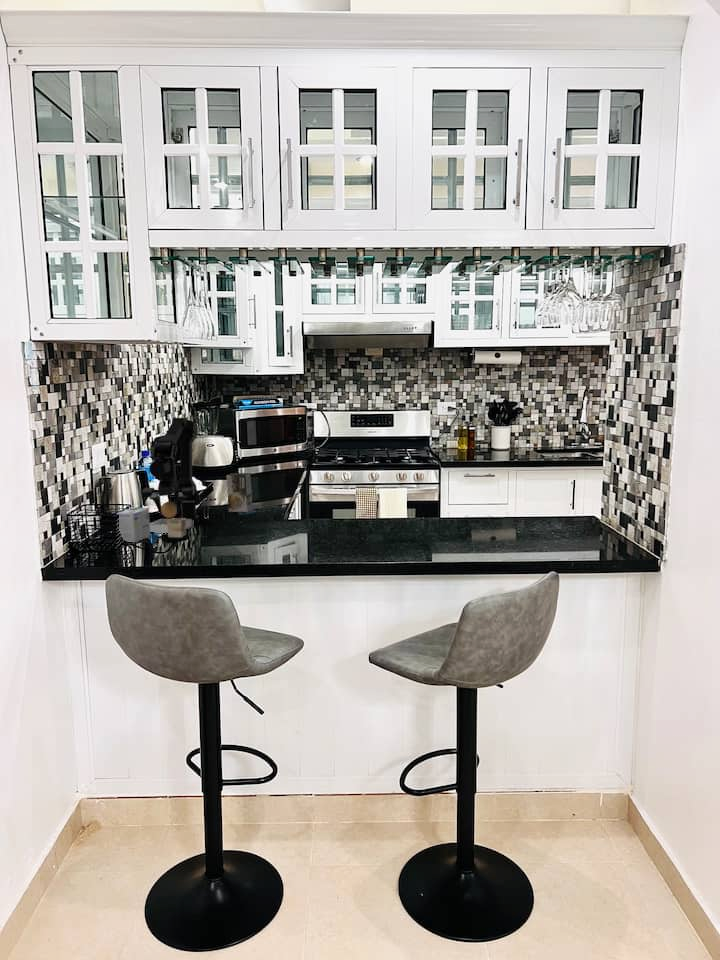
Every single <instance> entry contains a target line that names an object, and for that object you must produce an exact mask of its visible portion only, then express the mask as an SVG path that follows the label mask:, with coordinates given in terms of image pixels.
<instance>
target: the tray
mask: <svg viewBox="0 0 720 960" xmlns="http://www.w3.org/2000/svg"><path fill="white" fill-rule="evenodd" d="M170 519H171V518H160V519H157V520H155V521H152V522H151V523H150V532H154V533H168V525H167V521H168V520H170ZM192 521H193V520H192V519H186V529H187V530H189V529H190V528H192V527H193V526H192V524H193V522H192ZM162 524H164V525H162ZM191 526H192V527H191Z"/></svg>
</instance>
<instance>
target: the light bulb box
mask: <svg viewBox="0 0 720 960" xmlns="http://www.w3.org/2000/svg"><path fill="white" fill-rule="evenodd" d="M117 514H118V515H119V531H120V534H121V537H122V538H123V540H125V541H127V542H133V543H132V544H136V543H138V541H139V542H141V541H144V540H146V539H149V538H150V537H151V534H150V524H151V523H150V510H149V507H131V508H128V509H126V510H122V511H120V512H119V511H118V512H116V515H117ZM145 538H146V539H145ZM143 539H144V540H143ZM140 540H141V541H140ZM135 542H136V543H135Z"/></svg>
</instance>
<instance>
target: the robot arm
mask: <svg viewBox="0 0 720 960" xmlns="http://www.w3.org/2000/svg"><path fill="white" fill-rule="evenodd" d="M198 430H199V429H198V424H197V422H195V421H193V420H190V419H187V418H185V417H174V418H172V419H171V424H170V426H169V428H168V429H167V431H166V433H165V434H164V435H163V436H160V437H159V438H158V439H157V440H156V442H155V443H154V447H153V450H152V455H151V460H153V462H151V463H150V465H149V468H148V470H149V473H150V474H151V476H153V477H156V478H159V482H158V486H157V489H155V487H145V488H143V489H142V490H141V495H140V496H141V498H149V500H152V501H153V502H154V504H155V506H156V508H157V510H158V513H159V516H163V514H162V512H161V507H162V503H161V497H163V496H168V497H170V496H172V495H174V498H175V504H176V506H177V513H176V515H180V510H181V517H182V518H186V519H193V520H195V519H198V518H199V517H200V515H197V505H198V504H201V496H200V493H199V491H198V489H197V484H196V482H195V481H194V479H193V443H194V442H195V439H196V438H197V433H198ZM178 441H179V443H180V445H179V446H180V448H179V447H178V444H177V442H178ZM178 448H179V449H180V451H179V452H180V453H179V454H180V456H179V457H180V461H179V462H180V463H179V466H180V467H179V468H180V470H179V471H180V475H179V476H180V479H179V480H178V481H176V465H175V464H176V463H175V460H176V456H177V453H178Z"/></svg>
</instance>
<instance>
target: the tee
mask: <svg viewBox="0 0 720 960" xmlns="http://www.w3.org/2000/svg"><path fill="white" fill-rule="evenodd" d="M169 519H170V520H168V521H167V525H168V534H167V538H183V537H185V536H187V530H186V518H180V517H178V518H177V517H171V518H169Z"/></svg>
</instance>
